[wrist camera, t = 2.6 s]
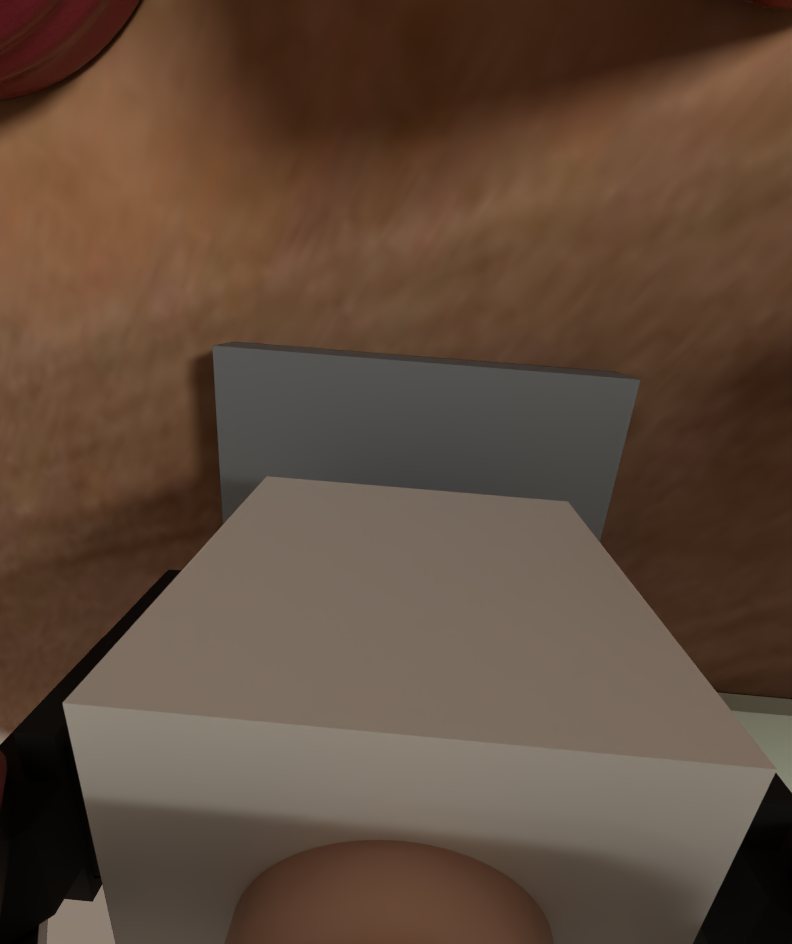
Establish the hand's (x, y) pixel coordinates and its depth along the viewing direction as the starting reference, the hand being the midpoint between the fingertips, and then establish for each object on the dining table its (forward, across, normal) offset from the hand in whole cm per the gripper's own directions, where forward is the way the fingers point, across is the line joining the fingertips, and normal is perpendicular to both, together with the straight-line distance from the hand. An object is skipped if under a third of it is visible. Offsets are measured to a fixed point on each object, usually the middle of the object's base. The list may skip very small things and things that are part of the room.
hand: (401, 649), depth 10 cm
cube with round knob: (+1, 0, 0) cm, 1 cm away
